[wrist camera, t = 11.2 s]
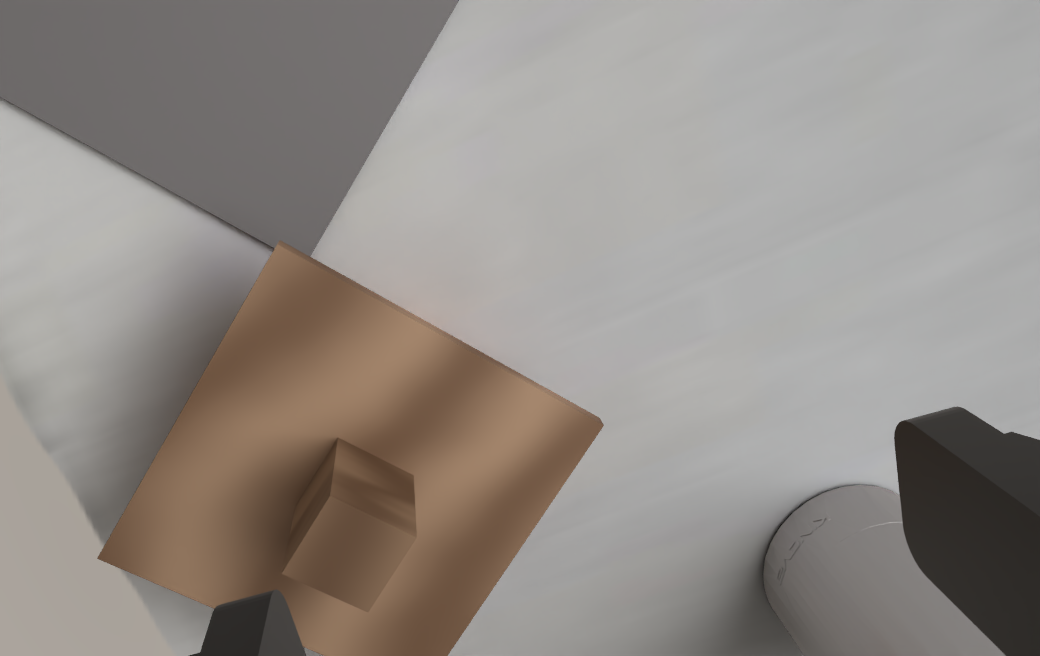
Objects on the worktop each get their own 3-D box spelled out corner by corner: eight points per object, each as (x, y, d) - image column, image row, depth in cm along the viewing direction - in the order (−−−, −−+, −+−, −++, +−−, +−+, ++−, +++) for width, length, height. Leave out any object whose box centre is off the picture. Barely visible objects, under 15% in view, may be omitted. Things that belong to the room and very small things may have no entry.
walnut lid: (599, 418, 39) (634, 479, 33) (419, 684, 41) (423, 782, 36) (279, 239, 35) (258, 276, 29) (103, 548, 37) (53, 634, 32)
